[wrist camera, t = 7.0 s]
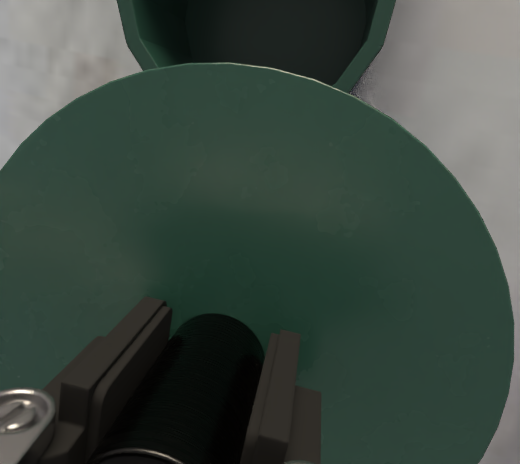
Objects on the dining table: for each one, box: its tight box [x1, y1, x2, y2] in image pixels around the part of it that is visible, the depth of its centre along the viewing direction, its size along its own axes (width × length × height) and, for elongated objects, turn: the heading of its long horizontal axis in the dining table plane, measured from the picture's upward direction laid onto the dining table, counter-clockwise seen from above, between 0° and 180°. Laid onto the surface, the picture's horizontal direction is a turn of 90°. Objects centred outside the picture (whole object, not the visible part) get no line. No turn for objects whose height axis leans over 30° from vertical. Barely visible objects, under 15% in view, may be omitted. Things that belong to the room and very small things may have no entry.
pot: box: [117, 0, 396, 93], centre depth 26 cm, size 14×19×10 cm
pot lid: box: [0, 62, 514, 464], centre depth 10 cm, size 15×15×6 cm
